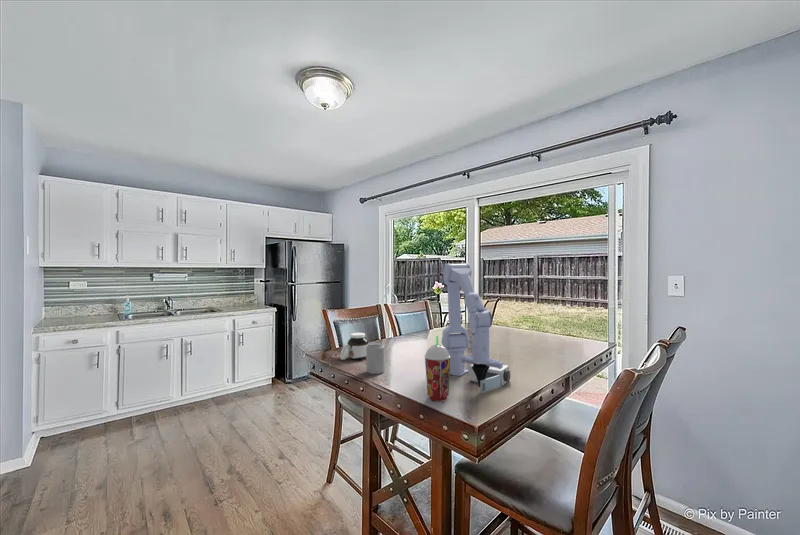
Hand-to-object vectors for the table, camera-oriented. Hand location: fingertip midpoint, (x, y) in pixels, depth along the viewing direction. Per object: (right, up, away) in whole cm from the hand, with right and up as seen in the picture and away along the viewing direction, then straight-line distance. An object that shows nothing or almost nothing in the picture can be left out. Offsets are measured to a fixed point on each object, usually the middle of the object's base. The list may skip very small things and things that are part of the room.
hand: (481, 386), depth 116 cm
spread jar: (-49, -3, +44) cm, 66 cm away
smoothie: (-15, -2, -6) cm, 17 cm away
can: (-38, -3, +23) cm, 44 cm away
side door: (+4, -1, +1) cm, 4 cm away
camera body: (+6, -2, +11) cm, 12 cm away
